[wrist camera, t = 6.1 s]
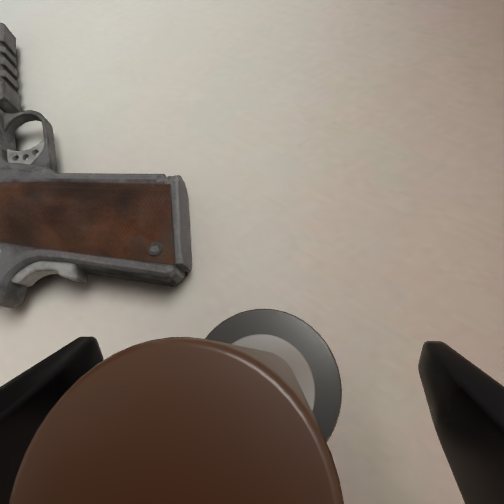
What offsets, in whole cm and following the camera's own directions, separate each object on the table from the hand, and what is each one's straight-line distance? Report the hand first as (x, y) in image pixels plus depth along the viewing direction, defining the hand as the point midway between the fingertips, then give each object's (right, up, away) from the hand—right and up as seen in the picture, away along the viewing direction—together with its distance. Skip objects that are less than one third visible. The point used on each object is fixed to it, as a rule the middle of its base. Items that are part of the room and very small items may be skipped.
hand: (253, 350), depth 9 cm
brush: (+1, -3, +7) cm, 7 cm away
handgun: (-12, +9, +12) cm, 19 cm away
